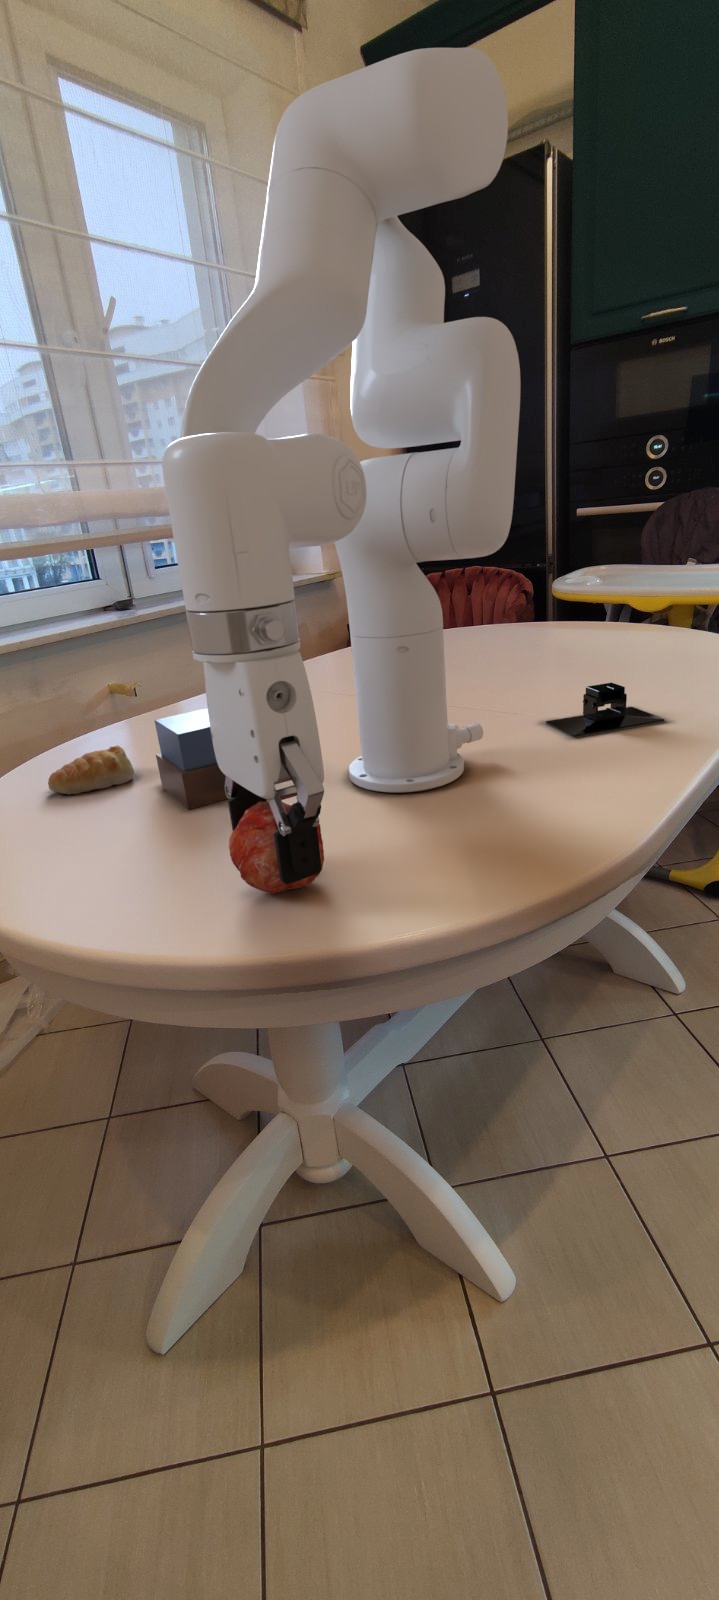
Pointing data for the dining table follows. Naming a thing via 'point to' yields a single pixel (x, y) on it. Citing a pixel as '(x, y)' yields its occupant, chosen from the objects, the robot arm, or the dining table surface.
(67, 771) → the pastry
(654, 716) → the build plate
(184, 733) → the top block
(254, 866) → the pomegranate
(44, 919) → the dining table surface
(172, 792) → the base block
